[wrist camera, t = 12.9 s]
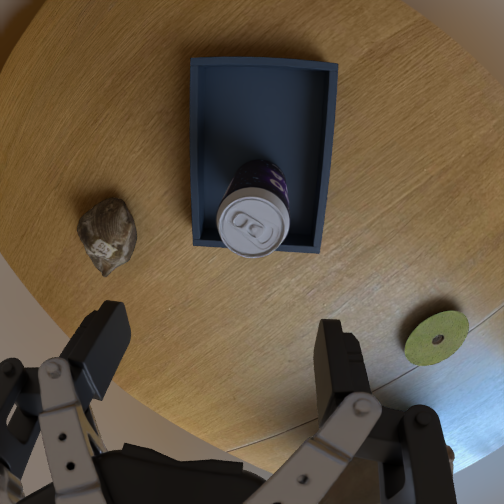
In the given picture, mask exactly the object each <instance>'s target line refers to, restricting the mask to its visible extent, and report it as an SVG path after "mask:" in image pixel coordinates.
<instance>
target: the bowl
mask: <svg viewBox="0 0 504 504" xmlns="http://www.w3.org/2000/svg"><path fill="white" fill-rule="evenodd" d="M445 444H446V443H445ZM446 448H447V453H448V458H449V462H450V467H451V472H452V477H453V461H454V458H455V457H454V452H453V450H452V449H451V448H450V446H448V445H446ZM318 504H380V488H379V474H378V462H376V461H372V460H367V459H362V458H358V457H354V458H353V459H352V460H351V462H350V463H349V465H348V466H347V467H346V469H345V470H344V471H343V473H342V474H341V475H340V477H339V478H338V479H337V480H336V482H335V483H334V484H333V486H332V487H331V488H330V489H329V491H328V492H327V493H326V494H325V496H324V497H323V498H322V499H321V500H320V502H319V503H318Z"/></svg>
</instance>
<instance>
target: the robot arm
mask: <svg viewBox="0 0 504 504" xmlns="http://www.w3.org/2000/svg"><path fill="white" fill-rule="evenodd" d="M130 339H131V329H130V325H129V321H128V317H127V313H126V309H125V305H124V303H123V302H117V301H110V300H106V301H104V302H103V304H102V305H101V307H100V308H99V310H98V311H96V310H94V311H93V312H92V313H90V314H89V315H87V316H86V317H85V318H84V320H83V321H82V323H81V324H80V327H78V329H77V330H76V332H75V334H74V335H73V336H72V338H71V339H70V341H69V342H68V344H67V345H66V347H65V348H64V350H63V351H62V353H61V354H60V356H59V357H54V358H50V359H48V360H46V361H45V362H43V363H42V365H41V366H40V367H39V368H38V367H36V368H24V366H23V364H22V363H21V361H20V360H19V359H17V358H9V359H6V360H4V361H2V362H1V363H0V504H318V503H319V502H320V500H321V499H322V498H323V497H324V496H325V494H326V493H327V492H328V491H329V489H330V488H331V487H332V486H333V484H334V483H335V482H336V480H337V479H338V478H339V477H340V475H341V474H342V473H343V471H344V470H345V469H346V467H347V466H348V465H349V463H350V462H351V460H352V459H353V458H354V457H358V458H362V459H367V460H372V461H376V462H378V474H379V488H380V504H457V501H456V494H455V489H454V483H453V477H452V472H451V467H450V462H449V458H448V453H447V448H446V444H445V440H444V436H443V432H442V428H441V424H440V420H439V417H438V415H437V413H436V412H435V411H434V410H433V409H432V408H430V407H428V406H426V405H414V406H411V407H410V408H408V409H407V411H406V412H404V411H399V410H394V409H390V408H387V407H384V406H382V405H381V404H380V402H379V400H378V399H377V398H376V397H375V396H373V395H372V393H371V389H370V385H369V381H368V376H367V372H366V368H365V364H364V362H363V361H364V360H363V356H362V354H361V353H362V352H361V348H360V344H359V341H358V340H357V339H356V337H355V336H354V335H353V334H352V333H343V331H342V326H341V322H340V320H337V319H321V320H320V323H319V328H318V332H317V337H316V342H315V346H314V357H313V360H314V372H315V383H316V395H317V408H318V422H319V428H320V429H319V430H318V432H317V433H316V434H315V435H314V436H313V437H309V438H308V439H307V440H305V441H304V443H303V444H302V445H301V446H300V447H299V448H298V449H297V450H296V451H295V452H294V453H293V454H292V455H291V457H290V458H289V459H288V460H287V461H286V462H285V463H284V464H283V465H282V466H281V467H280V468H279V469H278V470H277V471H276V472H275V473H274V474H273V475H272V476H271V477H270V478H269V479H268V480H267V481H266V480H265V479H263V478H262V477H260V476H258V475H256V474H254V473H252V472H249V471H246V470H243V462H232V461H222V460H214V459H210V460H198V461H177V460H175V459H172V458H170V457H168V456H166V455H163V454H161V453H159V452H157V451H155V450H153V449H149V448H145V447H140V446H136V445H132V444H128V443H124V446H123V448H122V450H113V451H108V450H107V448H106V447H105V445H104V443H103V440H102V438H101V435H100V432H99V429H98V426H97V423H96V420H95V417H94V414H93V411H92V408H91V405H90V402H91V400H92V398H93V399H97V400H100V401H102V400H103V397H104V395H105V393H106V391H107V389H108V387H109V385H110V382H111V380H112V378H113V376H114V374H115V372H116V370H117V368H118V366H119V363H120V361H121V359H122V357H123V355H124V353H125V351H126V349H127V347H128V345H129V343H130ZM14 403H15V404H16V406H17V408H16V410H15V412H14V414H13V416H12V418H11V420H10V422H9V424H8V426H7V424H6V420H7V417H8V415H9V413H10V411H11V409H12V407H13V405H14ZM40 431H41V433H42V439H43V443H44V448H45V452H46V456H47V461H48V465H49V469H50V473H51V477H52V480H53V482H51V483H50V484H48V485H46V486H44V487H43V488H41V489H39V490H37V491H35V492H34V493H32V494H30V495H28V496H26V497H25V494H24V492H23V486H22V483H21V478H22V476H23V473H24V470H25V467H26V465H27V463H28V460H29V457H30V455H31V452H32V450H33V447H34V445H35V442H36V440H37V438H38V436H39V433H40Z"/></svg>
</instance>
